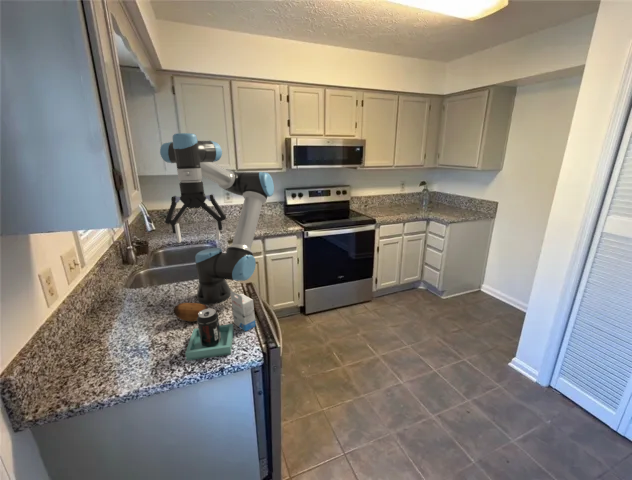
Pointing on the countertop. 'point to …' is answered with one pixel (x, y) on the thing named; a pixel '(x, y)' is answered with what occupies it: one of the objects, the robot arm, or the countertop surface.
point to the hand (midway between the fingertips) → (199, 240)
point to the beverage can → (209, 327)
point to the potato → (188, 311)
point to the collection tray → (220, 349)
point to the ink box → (243, 311)
